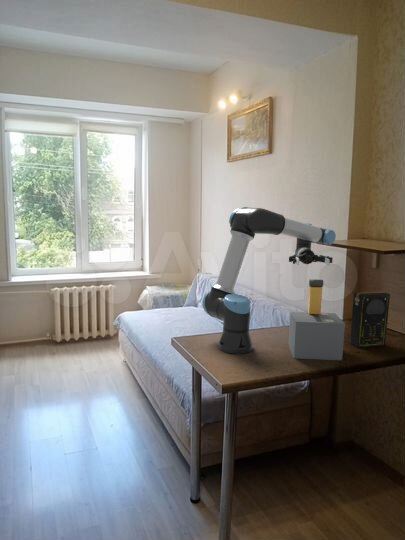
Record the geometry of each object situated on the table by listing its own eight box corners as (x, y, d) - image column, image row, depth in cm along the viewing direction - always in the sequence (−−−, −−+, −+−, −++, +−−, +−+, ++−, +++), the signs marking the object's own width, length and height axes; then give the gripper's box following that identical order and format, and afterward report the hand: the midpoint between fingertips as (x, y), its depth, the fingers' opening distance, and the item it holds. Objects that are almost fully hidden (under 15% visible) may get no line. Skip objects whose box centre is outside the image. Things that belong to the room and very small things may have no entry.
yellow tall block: (308, 313, 186) (310, 280, 184) (307, 311, 190) (309, 278, 187) (321, 314, 186) (323, 280, 184) (319, 312, 189) (321, 279, 187)
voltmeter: (358, 348, 191) (362, 295, 187) (347, 342, 200) (351, 291, 196) (387, 346, 196) (392, 293, 191) (375, 340, 204) (379, 289, 200)
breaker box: (293, 358, 178) (296, 321, 176) (288, 345, 194) (290, 311, 191) (342, 360, 177) (345, 323, 175) (332, 347, 193) (335, 312, 190)
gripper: (330, 263, 213) (340, 271, 192) (280, 262, 215) (285, 269, 194) (331, 248, 212) (342, 254, 191) (281, 247, 214) (286, 253, 193)
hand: (313, 262), depth 192 cm, fingers open, 13 cm apart
